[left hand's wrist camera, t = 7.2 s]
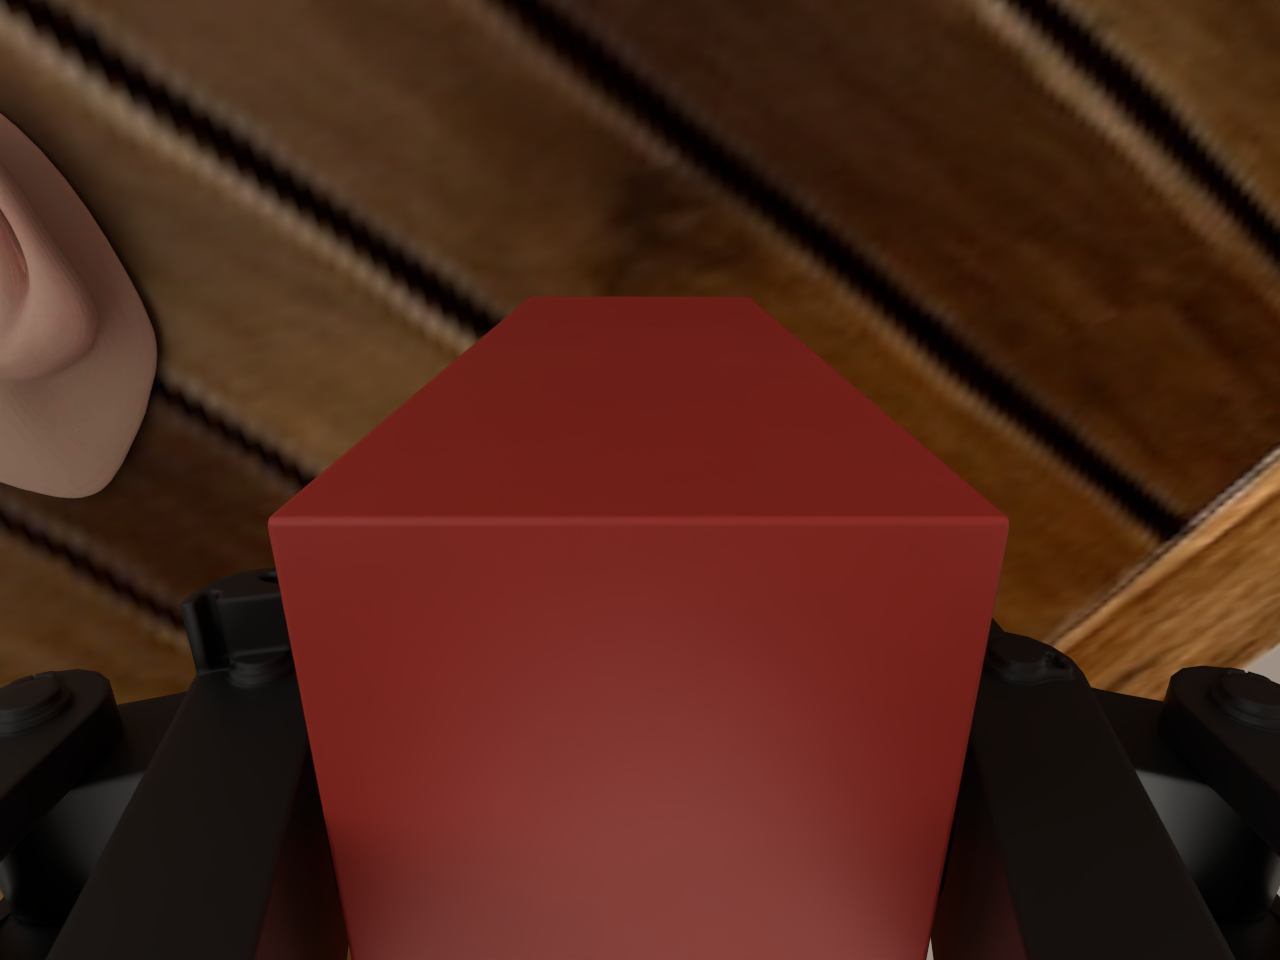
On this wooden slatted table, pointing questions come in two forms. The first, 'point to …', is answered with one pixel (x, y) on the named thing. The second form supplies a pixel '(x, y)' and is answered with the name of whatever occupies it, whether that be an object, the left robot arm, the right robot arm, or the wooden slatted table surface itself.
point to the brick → (638, 648)
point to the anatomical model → (64, 334)
